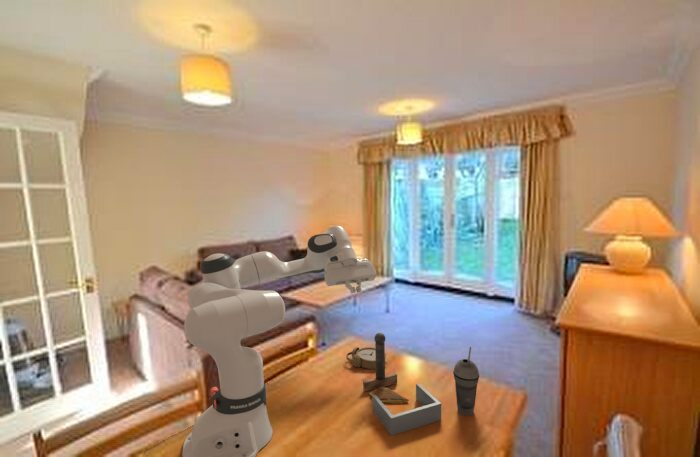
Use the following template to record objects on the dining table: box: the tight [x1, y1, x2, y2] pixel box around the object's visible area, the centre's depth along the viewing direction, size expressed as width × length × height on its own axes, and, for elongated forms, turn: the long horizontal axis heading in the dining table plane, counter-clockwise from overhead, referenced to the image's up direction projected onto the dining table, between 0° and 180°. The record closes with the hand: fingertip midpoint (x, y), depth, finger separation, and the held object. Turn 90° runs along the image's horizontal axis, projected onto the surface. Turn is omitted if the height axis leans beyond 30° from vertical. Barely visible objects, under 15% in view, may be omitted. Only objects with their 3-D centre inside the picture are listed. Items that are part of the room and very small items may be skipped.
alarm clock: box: [346, 346, 388, 370], centre depth 136 cm, size 11×5×15 cm
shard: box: [369, 386, 410, 404], centre depth 112 cm, size 11×8×2 cm
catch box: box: [371, 383, 442, 436], centre depth 104 cm, size 16×12×5 cm
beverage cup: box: [452, 346, 480, 417], centre depth 104 cm, size 7×7×20 cm
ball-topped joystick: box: [362, 332, 398, 392], centre depth 118 cm, size 12×4×18 cm, turn 112°
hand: (356, 291), depth 133 cm, fingers closed
